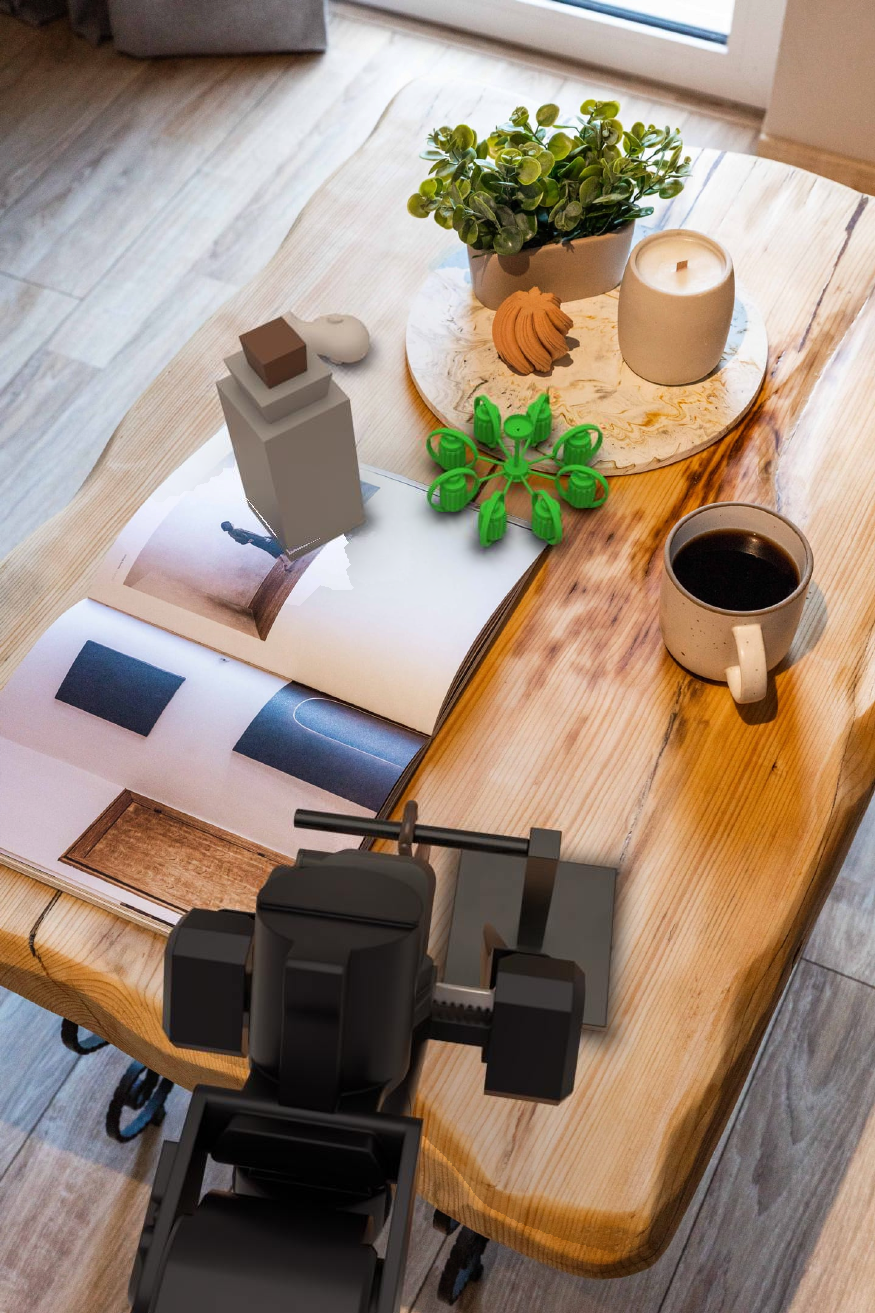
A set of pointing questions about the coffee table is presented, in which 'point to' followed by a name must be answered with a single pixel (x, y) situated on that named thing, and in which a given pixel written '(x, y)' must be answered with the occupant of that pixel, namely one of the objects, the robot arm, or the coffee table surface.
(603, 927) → the hook stand
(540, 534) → the chandelier
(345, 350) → the beige rounded piece
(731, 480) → the coffee table surface
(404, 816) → the hanger
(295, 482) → the perfume bottle
